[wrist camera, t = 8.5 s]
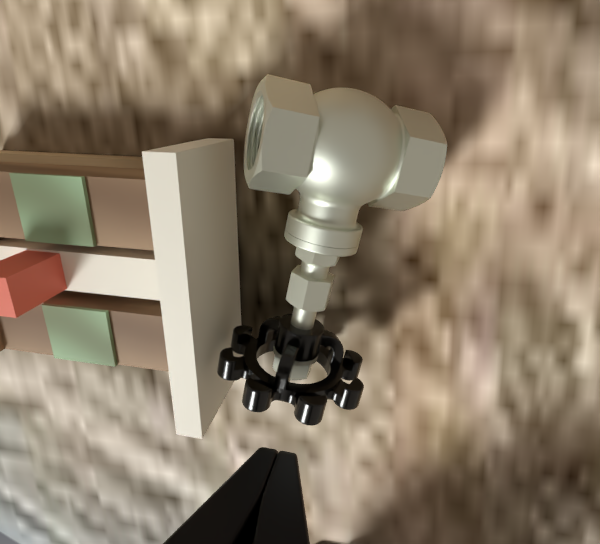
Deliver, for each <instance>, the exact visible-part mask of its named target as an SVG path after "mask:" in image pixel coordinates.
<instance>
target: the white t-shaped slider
mask: <svg viewBox="0 0 600 544" xmlns="http://www.w3.org/2000/svg"><path fill="white" fill-rule="evenodd" d="M142 157H143V166H144V174H145V182H146V190H147V198H148V206H149V215H150V223H151V231H152V239H153V247H154V251H153V250H142V249H131V248H119V247H108V246H95V247H88V246H77V245H66V244H54V243H43V242H32V241H26V240H25V239H16V238H4V239H2V240H0V316H4V317H12V318H17V317H19V316H21V315H23V314H24V313H26V312H28V311H29V310H31V309H33V308H35V307H36V306H38V305H40V304H41V303H43V302H45V301H47V300H48V299H50V298H52V297H54V296H55V295H57V294H59V293H60V292H62V291H64V290H68V291H77V292H86V293H95V294H105V295H114V296H123V297H132V298H141V299H150V300H159V301H160V304H161V313H162V321H163V329H164V337H165V345H166V353H167V361H168V370H169V378H170V386H171V394H172V402H173V410H174V419H175V427H176V435H182V436H188V437H194V438H200V439H202V438H203V436H204V435H205V433H206V431H207V429H208V427H209V426H210V424H211V422H212V420H213V418H214V417H215V415H216V413H217V411H218V409H219V407H220V406H221V404H222V402H223V400H224V398H225V397H226V395H227V393H228V391H229V389H230V388H231V386H232V384H233V382H234V381H228V380H225V379H222V378H221V377H220V376H219V375H218V373H217V368H218V362H219V355H220V352H221V351H222V350H223V349H225V348H229V347H231V340H232V334H233V329H234V328H235V327H237V326H240V325H241V303H240V278H239V254H238V229H237V205H236V180H235V156H234V139H220V138H206V139H201V140H196V141H191V142H186V143H181V144H176V145H171V146H166V147H161V148H156V149H151V150H146V151H142ZM233 356H235V357H241V356H243V355H241V354H237V353H235V352H234V351H233Z"/></svg>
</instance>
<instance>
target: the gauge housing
mask: <svg viewBox="0 0 600 544" xmlns="http://www.w3.org/2000/svg"><path fill="white" fill-rule="evenodd" d="M4 238H16V239H25V240H26V241H32V242H43V243H54V244H66V245H77V246H88V247H95V246H108V247H119V248H131V249H142V250H153V251H154V247H153V239H152V231H151V223H150V215H149V206H148V198H147V190H146V182H145V174H144V166H143V157H136V156H115V155H93V154H71V153H49V152H27V151H6V150H0V240H2V239H4ZM3 349H12V350H19V351H26V352H34V353H41V354H48V355H54V358H58V359H65V360H72V361H79V362H86V363H93V364H100V365H107V366H114V367H115V366H116V365H117V364H119V365H126V366H133V367H141V368H148V369H155V370H162V371H169V370H168V361H167V353H166V345H165V337H164V329H163V321H162V313H161V304H160V301H159V300H150V299H141V298H132V297H123V296H114V295H105V294H95V293H86V292H77V291H68V290H64V291H62V292H60V293H59V294H57V295H55V296H54V297H52V298H50V299H48V300H47V301H45V302H43V303H41V304H40V305H38V306H36V307H35V308H33V309H31V310H29V311H28V312H26V313H24V314H23V315H21V316H19V317H17V318H12V317H4V316H0V351H2V350H3Z"/></svg>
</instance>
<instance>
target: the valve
mask: <svg viewBox="0 0 600 544" xmlns="http://www.w3.org/2000/svg"><path fill="white" fill-rule="evenodd" d="M446 152H447V141H446V137H445V135H444V133H443V131H442V129H441V127H440V125H439V124H438V122H437V121H436V120H435V118H434V117H433V116H432V115H431V114H430V113H428V112H423V111H419V110H415V109H411V108H407V107H403V106H398V105H395V106H393V107H392V108H391V109H390V108H389V107H388V106H387V105H386V104H385V103H383V102H382V101H381V100H380V99H378V98H377V97H375V96H373V95H371V94H369V93H367V92H364V91H361V90H358V89H353V88H331V89H326V90H322V91H319V92H317V93H314V94H313V92H312V88H311V84H307V83H303V82H299V81H294V80H290V79H286V78H282V77H278V76H274V75H270V74H267V75H266V76H265V77H264V78H263V79H262V80H261V82H260V83H259V84H258V86H257V88H256V91H255V93H254V96H253V100H252V104H251V108H250V112H249V117H248V123H247V129H246V137H245V146H244V175H245V179H246V182H247V184H248V187H249V189H254V190H261V191H268V192H274V193H281V194H288V195H289V194H291V193H292V192H293V191H294V190H295V189H297V190H298V191H299V193H300V201H299V206H298V209H293V210H291V211H289V213H288V218H287V223H286V228H285V234H284V237H285V239H286V240H287V241H288V242H289V243H291V244H293V245H294V246H296V247H297V248H296V252H295V255H296V256H297V257H298V258H299V259H301V260H302V263H301V265H297V266H296V267H295V268H294V269H293V271H292V272H291V276H290V281H289V286H288V291H287V296H286V300H287V301H288V302H289V303H290V304H291V305H293V306H294V309H293V314H287V315H284V316H282V317H278V316H277V317H273V318H269V319H267V320H265V321H264V322H263V323H262V325H261V327H260V330H259V336H258V338H257V339H255V338H254V337H252V336H251V333H252V327H250V326H245V325H240V326H237V327H235V328H234V329H233V334H232V340H231V347H229V348H225V349H223V350H222V351H221V352H220V355H219V362H218V368H217V373H218V375H219V376H220V377H221V378H222V379H225V380H228V381H235V380H238V379H240V378H244V379H247V380H246V383H245V388H244V393H243V399H242V403H243V405H244V406H245V408H247V409H248V410H250V411H253V412H263V411H265V410H267V409H268V408H269V407H270V404H271V402H272V401H274V400H280V401H284V402H288V403H291V404H292V405H294V407H295V410H294V414H295V417H296V419H297V420H298V421H300V422H301V423H303V424H306V425H316V424H318V423H320V422H321V420H322V417H323V413H324V410H325V406H326V402H327V399H331V400H334V402H335V404H336V405H338V406H339V407H341V408H343V409H347V410H352V409H355V408H357V406H358V405H359V401H360V398H361V395H362V392H363V388H364V385H363V383H362V382H361V381H360V380H359V379H358V378H357V377H358V374H359V371H360V367H361V364H362V357H361V356H360V355H359V354H358V353H356V352H354V351H351V350H346V352H345V355H344V358H343V353H344V351H343V346H342V344H341V342H340V340H339V339H338V337H337V336H336V335H335V334H333V333H332V332H329V331H327V330H325V329H324V327H323V325H322V324H321V323H320V322H319V321H318V320H316V319H315V318H316V313H317V312H319V311H324V310H325V309H326V307H327V304H328V301H329V297H330V293H331V289H332V285H333V281H334V277H335V275H333V274H331V273H329V268H330V267H331V266H336V264H337V263H338V260H339V257H345V256H351V255H354V254H356V252H357V250H358V246H359V242H360V239H361V235H362V231H363V227H362V226H361V225H360V224H359V223H357V222H356V220H357V216H358V212H359V209H360V207H361V206H362V205H364V204H366V203H368V206H369V207H376V208H383V209H390V210H397V211H404V210H407V209H411V208H413V207H416V206H418V205H420V204H422V203H424V202H426V201H427V200H429V199H430V198H431V196H432V194H433V193H434V191H435V189H436V187H437V185H438V182H439V180H440V177H441V174H442V171H443V168H444V164H445V159H446ZM329 349H330V350H329ZM233 351H234V352H235V353H237V354H241V355H243V356H241V357H235V356H233ZM270 351H274V354H275V358H274V363H273V369H274V370H275V371H276V376H275V377H273V376H271V375H270V374H268V373H267V372H266V371H264V370H263V369H262V368H261V366H260V365H259V363H258V361H257V358H258V357H259V356H260V355H262V354H264V353H267V352H270ZM316 361H317V362H318V363H320V364H321V365H322V366H323V368H324V369H325V370H326V372H327V375H328V376H327V377H326V378H325V379H323V380H322V381H319V382H316V383H312V384H295V383H290V382H289V381H290V380H302V379H307V377H308V374H309V372H310V369H311V366H312V364H313V363H315V362H316ZM341 378H342V379H344V380H353V381H352V382H351V383H350V384H347V383H345V382H343V381H342V379H341Z"/></svg>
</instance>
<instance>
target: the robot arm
mask: <svg viewBox="0 0 600 544" xmlns="http://www.w3.org/2000/svg"><path fill="white" fill-rule="evenodd" d="M163 544H310V542H309V535H308V528H307V521H306V514H305V508H304V501H303V494H302V487H301V480H300V473H299V466H298V459H297V455H296V454H295V453H290V452H285V451H280V452H279V453H278V451H277V450H275V449H269V448H264V447H262V448H259V449H258V450H257V451H256V452H255V453H254V454H253V455H252V456H251V457H250V458H249V459H248V460H247V461H246V462H245V463H244V464H243V465H242V466H241V467H240V468H239V469H238V470H237V471H236V472H235V473H234V474H233V475H232V476H231V477H230V478H229V479H228V480H227V481H226V482H225V483H224V484H223V485H222V486H221V487H220V488H219V489H218V490H217V491H216V492H215V493H214V494H213V495H212V496H211V497H210V498H209V499H208V500H207V501H206V502H205V503H204V504H203V505H202V506H201V507H200V508H199V509H198V510H197V511H196V512H195V513H194V514H193V515H192V516H191V517H190V518H189V519H188V520H187V521H186V522H185V523H184V524H182V525H181V526H180V527H179V528H178V529H177V530H176V531H175V532H174V533H173V534H172V535H171V536H170V537H169V538H168V539H167V540H166V541H165V542H164V543H163Z"/></svg>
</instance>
